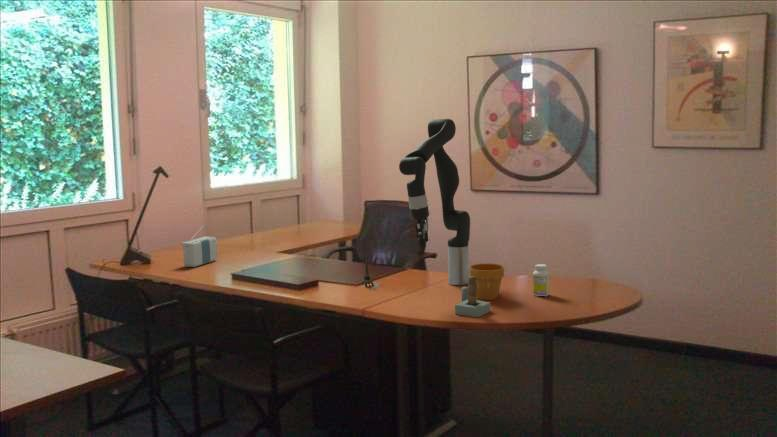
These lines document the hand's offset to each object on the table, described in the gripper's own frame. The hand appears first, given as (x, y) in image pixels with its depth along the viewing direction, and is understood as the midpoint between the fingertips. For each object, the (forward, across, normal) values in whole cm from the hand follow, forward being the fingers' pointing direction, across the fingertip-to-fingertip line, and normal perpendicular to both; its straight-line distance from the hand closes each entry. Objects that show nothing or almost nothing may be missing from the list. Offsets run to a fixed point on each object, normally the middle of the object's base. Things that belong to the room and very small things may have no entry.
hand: (424, 244), depth 305 cm
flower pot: (+27, -6, +22) cm, 35 cm away
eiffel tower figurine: (+23, -22, -32) cm, 45 cm away
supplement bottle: (+30, -11, +44) cm, 54 cm away
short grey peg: (+25, +7, +14) cm, 30 cm away
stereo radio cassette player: (+15, -64, -133) cm, 148 cm away
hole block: (+24, +19, +18) cm, 35 cm away
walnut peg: (+24, +19, +18) cm, 35 cm away
